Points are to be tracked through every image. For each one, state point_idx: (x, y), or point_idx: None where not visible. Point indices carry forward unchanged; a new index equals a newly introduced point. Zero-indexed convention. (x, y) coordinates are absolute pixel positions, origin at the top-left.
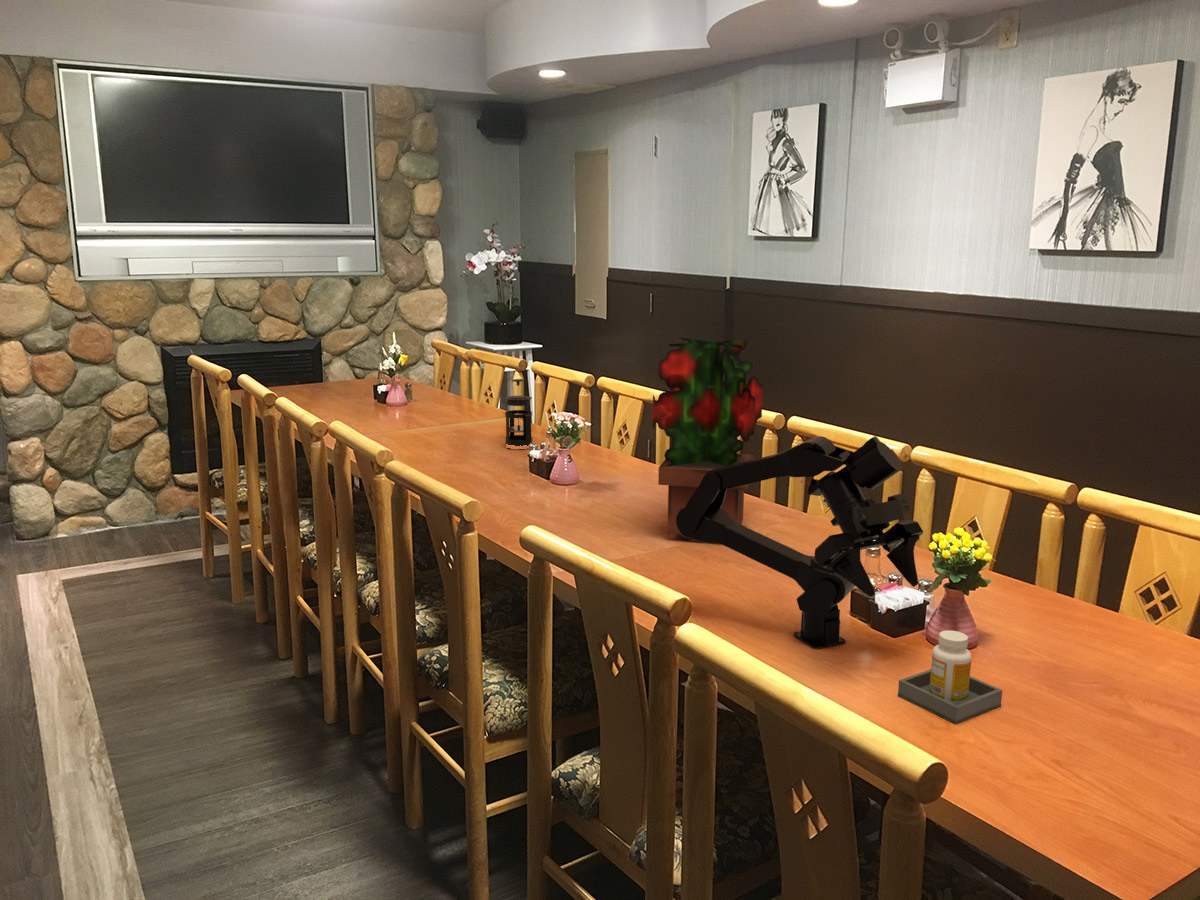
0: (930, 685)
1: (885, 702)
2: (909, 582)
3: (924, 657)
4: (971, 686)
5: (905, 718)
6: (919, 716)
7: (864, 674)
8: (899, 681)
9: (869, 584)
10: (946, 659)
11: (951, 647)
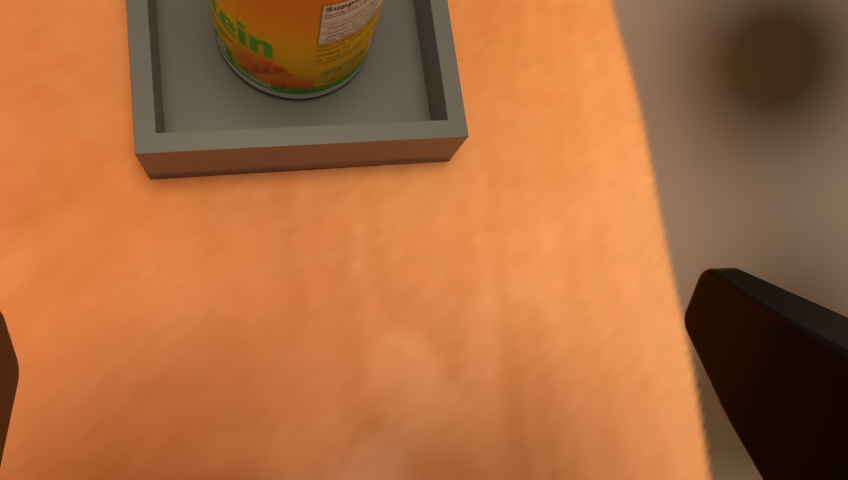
0: (366, 48)
1: (526, 146)
2: (3, 440)
3: None
4: (152, 4)
5: (539, 29)
6: (485, 13)
7: (441, 381)
8: (466, 135)
9: (822, 315)
10: None
11: None
